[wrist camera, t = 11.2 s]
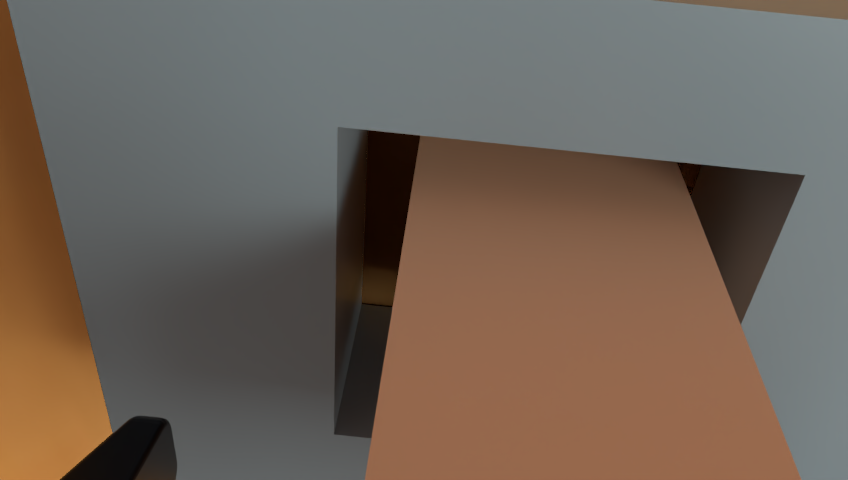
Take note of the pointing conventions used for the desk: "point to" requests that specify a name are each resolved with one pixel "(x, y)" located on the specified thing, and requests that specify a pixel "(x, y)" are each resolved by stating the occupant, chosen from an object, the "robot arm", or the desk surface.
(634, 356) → the terracotta peg
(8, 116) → the desk surface
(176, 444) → the socket block
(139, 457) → the robot arm
